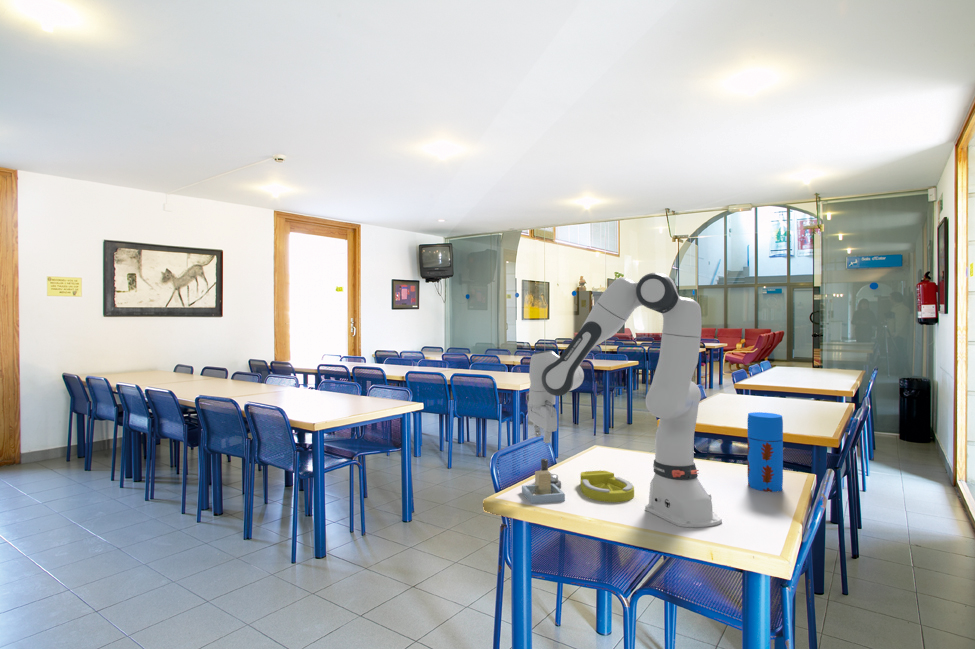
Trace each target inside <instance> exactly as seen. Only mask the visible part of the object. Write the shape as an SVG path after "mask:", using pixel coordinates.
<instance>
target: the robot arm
mask: <svg viewBox="0 0 975 649" xmlns="http://www.w3.org/2000/svg"><path fill="white" fill-rule="evenodd" d="M641 306H644V307H645V308H647V309H649V310H652V311H655V312H657V313H660V314H661V315H662V319H663V320H662V332H661V339H660V346H659V347H660V348H659V357H658V360H657V365H656V368H655V371H654V373H653V374H654V375H653V378H652V382H651V384H650V386H649V390H648V391H647V392H646V395H645V407H646V409H647V410H648V412H649V413H650V414H651V415H652V416H653V417H656V418H659V421H658V422H659V423H658V426H657V430H656V432H655V436H654V452H655V453H654V454H655V456H654V457H655V458H654V460H653V466H652V467H653V473H654V476H653V478H652V479H651V481H650V483H649V495H648V504H646V505H644V507H645V509H644V510H645V511H647V512H648V513H651V514H653V515H655V516H657V517H659V518H661V519H663V520H665V521H668V522H669V523H671V524H674V525H675V526H677V527H682V528H705V527H706V528H707V527H713V526H718V525H720V524H722V523H723V521H722V520H723V519H722V518H721V517H720V516H718V514H716V513H715V512H714V511H713V503H712V502H713V500H712V494H711V493H709V492H707V491H706V489H705V488H704V487H703V484H701V482H700V481H699V479H698V474H699V469H697V466H696V463H695V462H694V460H695V459H694V458H695V457H694V456H695V455H694V454H695V452H694V451H695V450H694V448H695V447H694V446H695V444H694V441H695V440H694V439H695V430H696V424H697V419H698V413H699V405H700V402H701V400H702V399H701V398H702V393H701V389H700V388H699V386H698V384H696V383H695V382H694V381H692V379H693V377H694V373H695V370H696V367H697V365H698V363H699V357H700V356H699V355H700V347H701V339H702V330H703V329H702V327H703V326H702V323H703V322H702V320H703V319H702V309H701V305H700V304H699V302H698V301H696V300H694V299H692V298H689V297H683V296H681V295H679V290H678V286H677V284H676V282H675V281H674V280H673V279H672V278H671V277H670V276H669V275H667V274H665V273H661V272H649V273H647V274H645V275H644V276H642V277H641V278H640V279H639V280H638V281H637V282H635V281H633V280H632V279H630V278H626V277H618V278H616V279H614V280H613V282H612V283H611V284H610V285H608V287H607V288H606V289H605V290H604V291H603V292H602V294H601V295H600V296H599V298H598V299H597V300H596V302H595V304H594V305H593V307H592V308H591V310H590V312H589V313H588V316H587V317H586V319H585V320H584V322H583V324H582V326H581V327H580V329H579V330H578V332H577V334H576V335H575V336H574V337H573V339H572V340H571V342H570V343H569V345H568V346H567V347H566V348H565V350H564V351H563V352H562V354H560V355H558V354H556V352H555V351H553V350H544V351H538V352H534V353H533V354H532V355H531V357H530V362H529V380H530V383H529V384H530V385H529V392H528V393H526V398H525V399H526V401H527V416H528V420H529V421H530V422H531V423H533V424H532V425H533V426H532V427H533V431H534V436H535V437H536V438H540V437H541V436H542V432H541V429H542V430H543V431H544V432H543V433H544V436H543V443H545V444H550V443H551V436H552V432H557V429H558V415H557V409H556V408H555V407H554V405H556V401H557V400H556V397H560V396H564V395H565V394H567V393H569V392H571V391H573V390H575V389H578V388H579V387H580V386H581V385H583V382H584V379H585V372H584V370H583V367H582V366H581V365H582V363H583V361H584V360H585V359H586V358H587V356H588V355H589V353H590V352H592V350H593V349H594V348H595V347H596V346H598V345H599V344H600V343H602V342H605V341H607V340H608V339H610V338H612V337H613V336H615V335H616V334H617V333H618V332H619V330H621V328H623V326H624V325H625V324H626V322H627V320H629V317H630V316H631V315H632V313H633V312H634V311H635V310H636V309H637V308H638V307H641Z"/></svg>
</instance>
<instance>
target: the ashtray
mask: <svg viewBox="0 0 975 649" xmlns="http://www.w3.org/2000/svg"><path fill="white" fill-rule="evenodd" d="M580 490H581V493H582V495H584V496H585V497H587V498H588V499H591V500H594V501H599V502H604V501H605V502H606V503H607V502H608V503H623V502H628V501H631V500H632V499H634V498H635V486H634V485H633V484H632V483H631V482H630V481H629V480H627V479H625V478H622V477H619V476H615V473H614V472H611V471H608V470H589V471H582V472H581V473H580ZM605 502H604V503H605Z"/></svg>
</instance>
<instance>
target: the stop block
mask: <svg viewBox="0 0 975 649" xmlns="http://www.w3.org/2000/svg"><path fill="white" fill-rule="evenodd" d="M548 471H549V470H548ZM548 471H547V470H545V471H540V470H535V472H534V485H535V493H534V495H542V494H552V492H551V474H552V473H551V472H550V471H549V472H550V473H551V474H550V473H549V472H548Z"/></svg>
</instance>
